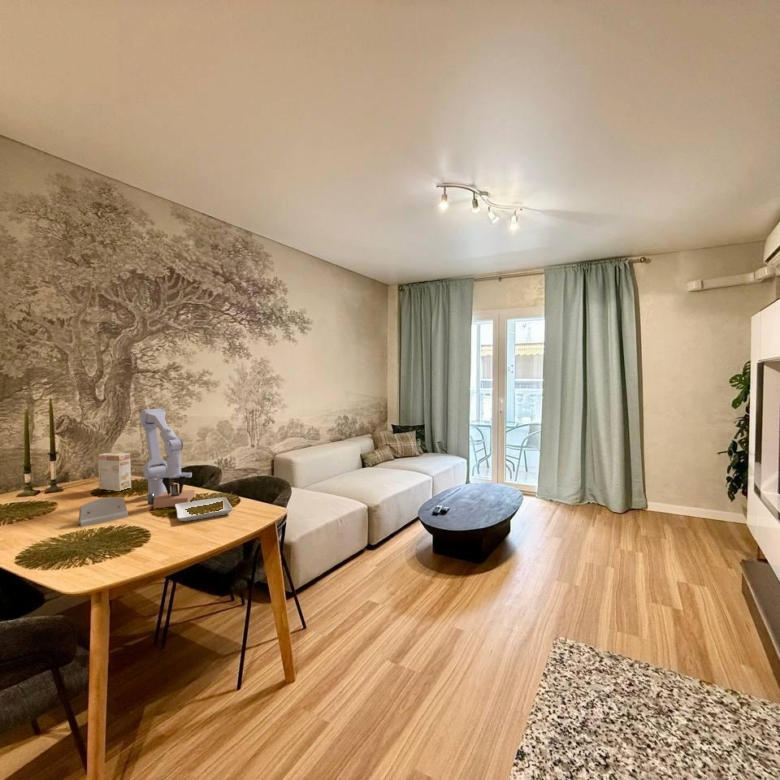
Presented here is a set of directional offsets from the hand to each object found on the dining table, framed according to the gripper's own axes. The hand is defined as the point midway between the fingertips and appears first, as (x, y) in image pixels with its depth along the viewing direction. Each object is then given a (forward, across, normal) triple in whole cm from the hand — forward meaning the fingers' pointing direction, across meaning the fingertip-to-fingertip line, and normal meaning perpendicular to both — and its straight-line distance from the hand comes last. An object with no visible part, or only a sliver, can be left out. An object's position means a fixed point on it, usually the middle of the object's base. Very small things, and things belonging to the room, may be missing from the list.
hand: (174, 493), depth 186 cm
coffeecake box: (+5, -38, +36) cm, 53 cm away
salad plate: (+5, +16, -19) cm, 25 cm away
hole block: (+5, 0, 0) cm, 5 cm away
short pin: (+5, -11, +3) cm, 12 cm away
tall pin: (+5, 0, 0) cm, 5 cm away
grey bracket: (+5, -23, -16) cm, 28 cm away
